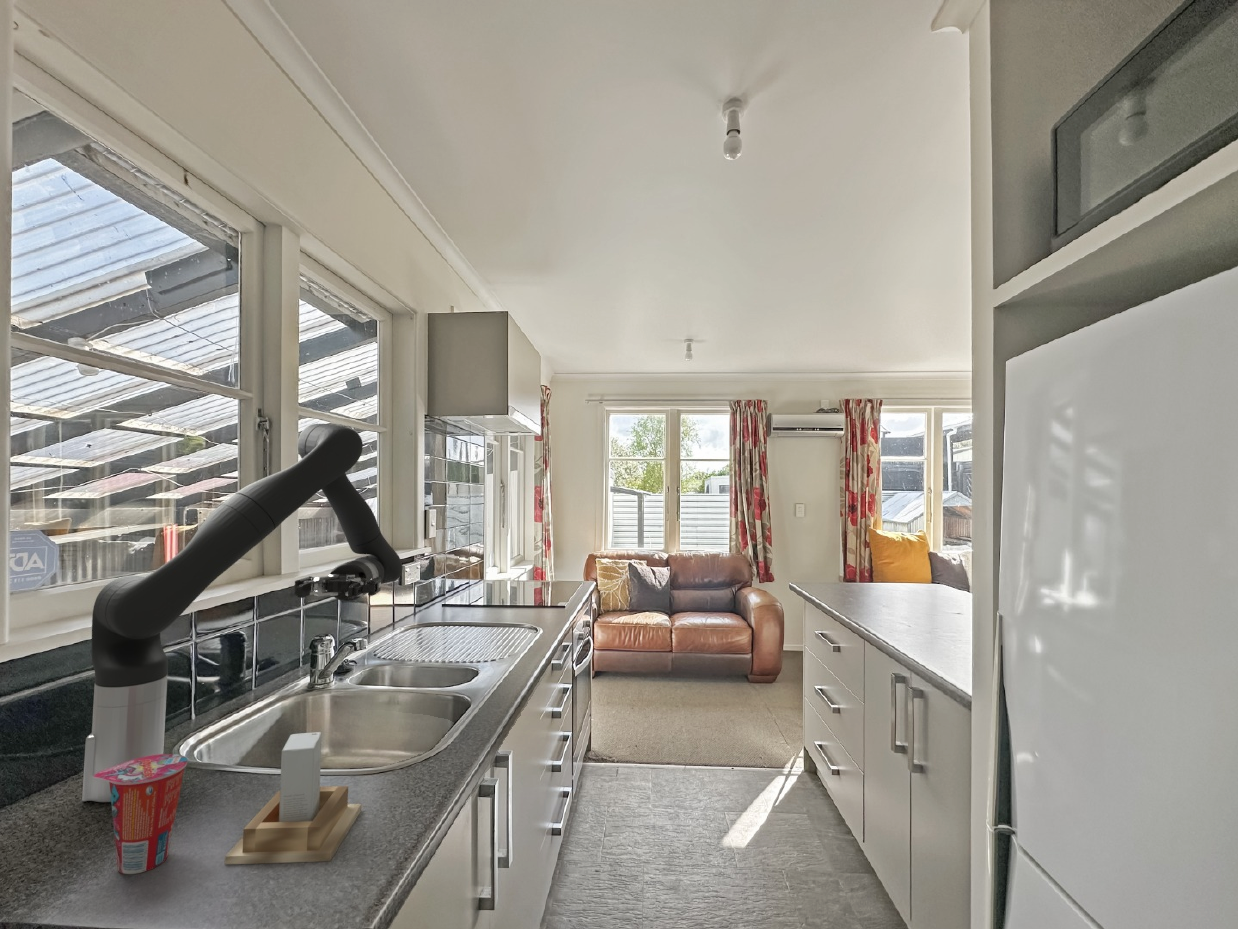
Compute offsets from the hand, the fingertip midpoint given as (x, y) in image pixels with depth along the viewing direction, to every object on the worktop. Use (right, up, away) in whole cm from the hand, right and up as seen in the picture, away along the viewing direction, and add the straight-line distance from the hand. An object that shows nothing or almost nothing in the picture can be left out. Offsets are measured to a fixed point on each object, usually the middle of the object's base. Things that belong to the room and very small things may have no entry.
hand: (325, 592), depth 111 cm
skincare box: (+7, -28, -23) cm, 37 cm away
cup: (-10, -29, -31) cm, 43 cm away
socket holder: (+7, -29, -23) cm, 38 cm away
